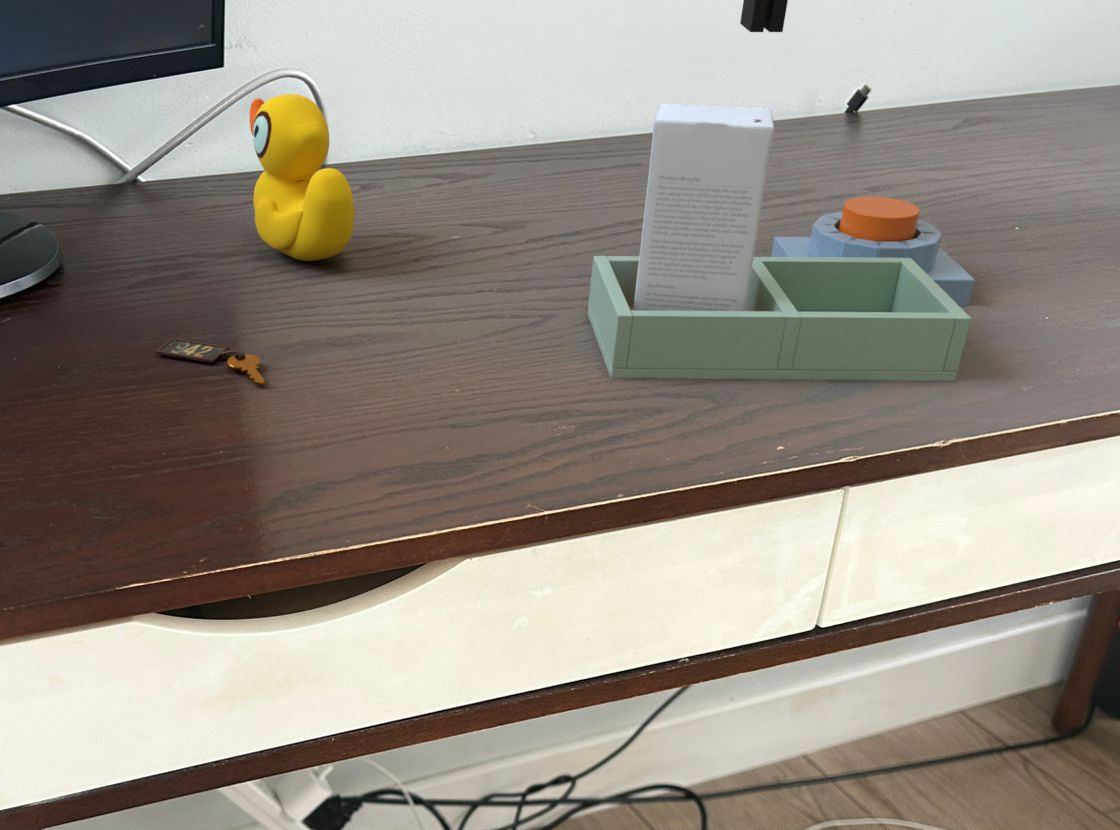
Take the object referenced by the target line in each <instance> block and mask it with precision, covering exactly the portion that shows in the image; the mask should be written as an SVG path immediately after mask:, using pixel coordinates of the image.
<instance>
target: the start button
mask: <svg viewBox="0 0 1120 830" xmlns="http://www.w3.org/2000/svg"><path fill="white" fill-rule="evenodd" d="M842 211H843V212H842ZM842 211H841V212H842V217H841V222H840V226H839V232H841V233H844V234H847V235H849V236H852V237H855V238H859V239H865V240H871V241H878V242H902V241H907V240H911V239H914V235H915V231H916V227H917V223H918V220H919V219H920V215H921V214H920V213H921V210H920V207H918V205H915V204H913V203H912V202H909V201H905V200H902V199H898V198H894V197H893V198H892V197H886V196H858V197H853V198H850V199H847V200H846V201H845V202H844V203H843V207H842Z"/></svg>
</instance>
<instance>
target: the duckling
mask: <svg viewBox="0 0 1120 830" xmlns="http://www.w3.org/2000/svg"><path fill="white" fill-rule="evenodd" d="M249 125H250V126H249V128H250V132H251V135H252V139H253V146H254V151H255V153H256V156H257V159H258V161H259V163H260V165H261V166H262V168H263V172H262V173H261V174H260V175H259V177H258V179H257V180H256V183H255V186H254V190H253V198H252V199H253V209H254V223H255V228H256V231H257V233H258V235H259V237H260V239H261V241H263V242H264V243H266V244H267V245H268V246H270V247H271V248H272V249H273V250H276V251H278V252H280V253H283V254H285V255H286V256H289V257H291V258H293V259H295V260H297V261H303V262H314V261H320V260H325V259H328V258H332V257H334V256H336V255H338V254H340V253H341V252H342V251H343V250H344V249H346V247H347V245H349V243H350V241H351V239H352V236H353V232H354V222H355V216H356V215H355V212H356V211H355V203H354V197H353V193H352V188H351V186H350V184H349V182H348V179H347V178H346V176H345V175H344V174H343V172H341V171H340V170H339V169H337V168H333V167H326V168H322V166H323V165H324V163H325V162H326V159H327V156H328V153H329V149H330V132H329V126H328V123H327V120H326V118H325V115H324V113H323V112H322V110H321V108H320V107H319V106H318V105H317V104H316V102H314V101H313V100H312V99H310V98H308V97H307V96H304V95H303V94H302V95H301V94H296V93H284V94H280V95H277V96H273V97H271V98H269V99H268V100H266V101H264V100H263V99H262V98H255V99H253V100H252V102H251V104H250V108H249ZM320 168H322V169H320Z"/></svg>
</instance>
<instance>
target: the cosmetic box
mask: <svg viewBox="0 0 1120 830" xmlns="http://www.w3.org/2000/svg"><path fill="white" fill-rule="evenodd" d="M774 134H775V124H774V118H773V113H772V109H771V108H770V107H755V106H753V107H751V106H723V105H711V104H710V105H709V104H686V103H663V102H661V103H659V104H658V107H657V111H656V114H655V118H654V121H653V128H652V139H651V148H650V157H649V168H648V178H647V186H646V194H645V202H644V203H645V205H644V211H643V212H644V213H643V221H642V232H641V239H640V246H639V255H638V256H639V264H638V272H637V281H636V290H635V299H634V307H633V310H647V311H745V308H746V302H747V295H748V289H749V282H750V276H751V270H752V264H753V258H754V257H755V251H756V246H757V238H758V233H759V226H760V220H761V214H762V208H763V207H762V206H763V200H764V197H765V196H764V195H765V190H766V189H765V188H766V182H767V177H768V169H769V162H770V156H771V149H772V144H773V140H774Z"/></svg>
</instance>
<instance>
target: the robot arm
mask: <svg viewBox="0 0 1120 830" xmlns="http://www.w3.org/2000/svg"><path fill="white" fill-rule="evenodd" d="M788 1H789V0H743V3H742V9H741V14H740V15H741V16H740V21H739V23H740V25H741V26H742V27H744V28H745V29H746V30H747V31H749V32H750V33H764V30H766V31H767V32H768V33H783V31H784V25H785V19H786V13H787V8H788Z"/></svg>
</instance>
